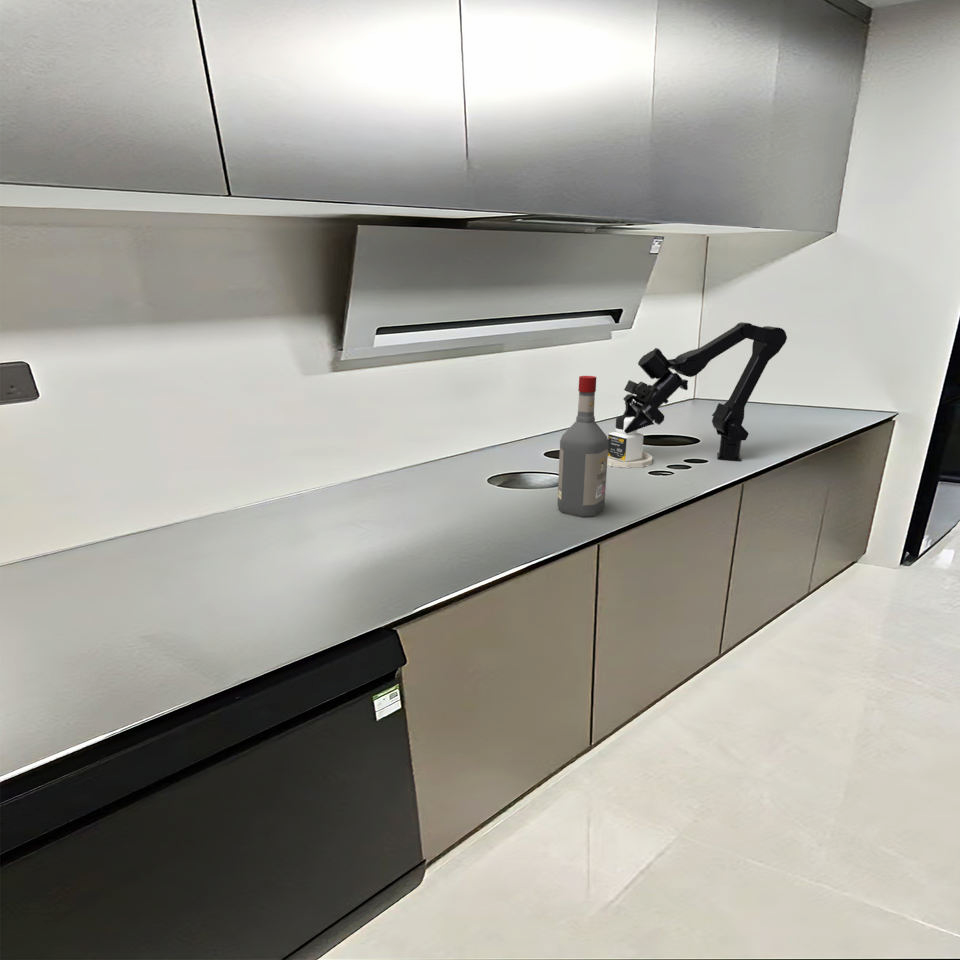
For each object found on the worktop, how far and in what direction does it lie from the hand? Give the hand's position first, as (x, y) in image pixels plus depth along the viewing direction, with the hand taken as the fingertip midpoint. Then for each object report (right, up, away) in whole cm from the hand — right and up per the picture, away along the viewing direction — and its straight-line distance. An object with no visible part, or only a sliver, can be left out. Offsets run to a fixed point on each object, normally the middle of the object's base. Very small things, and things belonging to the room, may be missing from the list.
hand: (621, 429), depth 189 cm
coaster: (+1, -9, +3) cm, 9 cm away
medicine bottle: (+1, -8, +3) cm, 9 cm away
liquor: (-18, -21, -39) cm, 47 cm away
